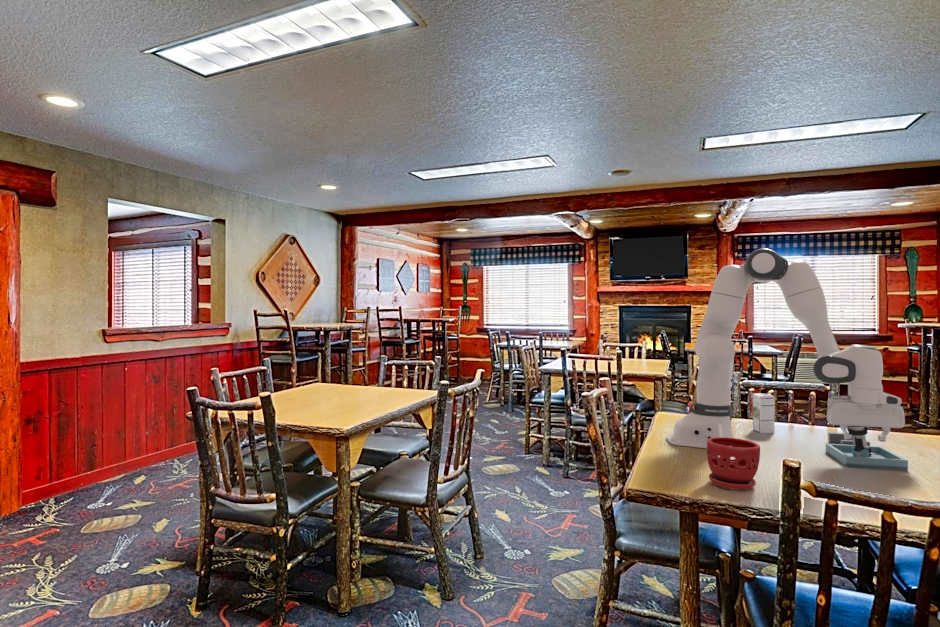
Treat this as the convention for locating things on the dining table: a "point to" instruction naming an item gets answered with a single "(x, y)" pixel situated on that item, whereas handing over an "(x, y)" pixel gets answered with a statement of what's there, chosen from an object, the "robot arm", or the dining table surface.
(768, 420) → the syrup box
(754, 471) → the plant pot
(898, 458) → the tray
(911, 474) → the dining table surface
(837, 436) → the clip holder
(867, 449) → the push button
